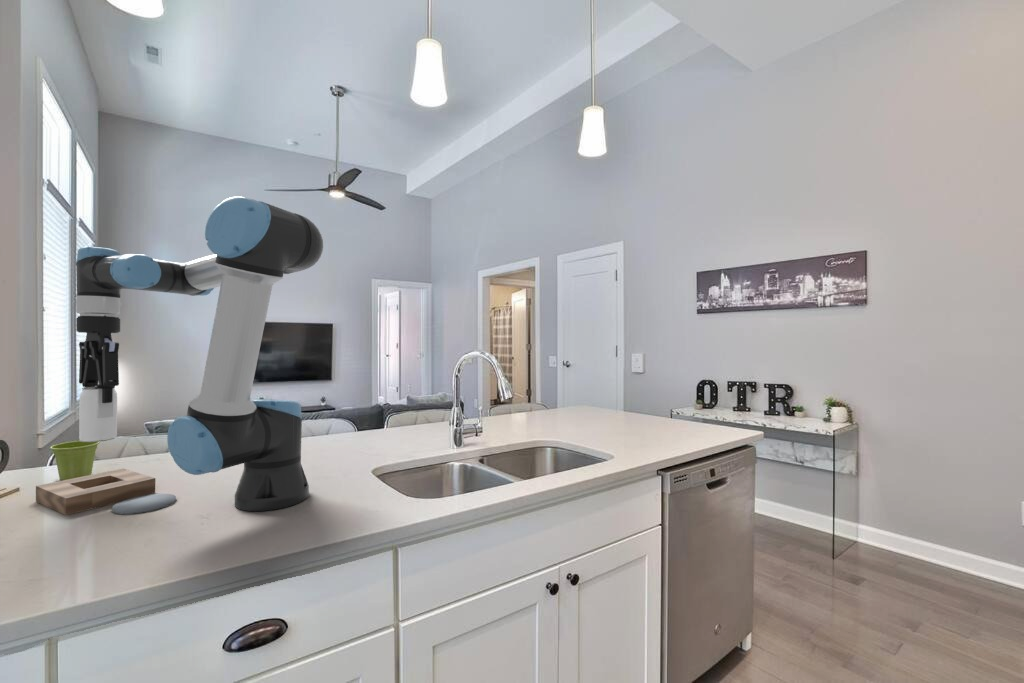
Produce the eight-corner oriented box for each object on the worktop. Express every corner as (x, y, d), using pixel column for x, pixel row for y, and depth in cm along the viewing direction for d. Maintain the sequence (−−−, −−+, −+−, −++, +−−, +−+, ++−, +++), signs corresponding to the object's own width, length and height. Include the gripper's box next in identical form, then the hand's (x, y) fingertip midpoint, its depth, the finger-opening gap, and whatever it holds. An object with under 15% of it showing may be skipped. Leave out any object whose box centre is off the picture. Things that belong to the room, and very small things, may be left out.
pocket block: (155, 492, 109) (155, 478, 109) (65, 515, 95) (65, 498, 95) (123, 482, 116) (123, 468, 116) (35, 501, 102) (35, 485, 102)
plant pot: (75, 482, 116) (76, 448, 116) (39, 482, 116) (39, 447, 116) (109, 472, 125) (109, 440, 125) (75, 471, 125) (75, 439, 125)
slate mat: (186, 501, 103) (186, 498, 103) (126, 518, 94) (127, 515, 94) (160, 493, 109) (160, 490, 109) (102, 508, 99) (102, 505, 99)
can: (94, 443, 102) (94, 389, 102) (71, 441, 103) (71, 388, 103) (124, 437, 108) (124, 386, 108) (102, 435, 109) (102, 385, 109)
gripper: (138, 315, 104) (138, 417, 104) (100, 317, 113) (100, 410, 113) (96, 314, 98) (96, 422, 98) (59, 315, 107) (59, 414, 107)
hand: (98, 415), depth 105 cm, fingers closed on can, 6 cm apart
